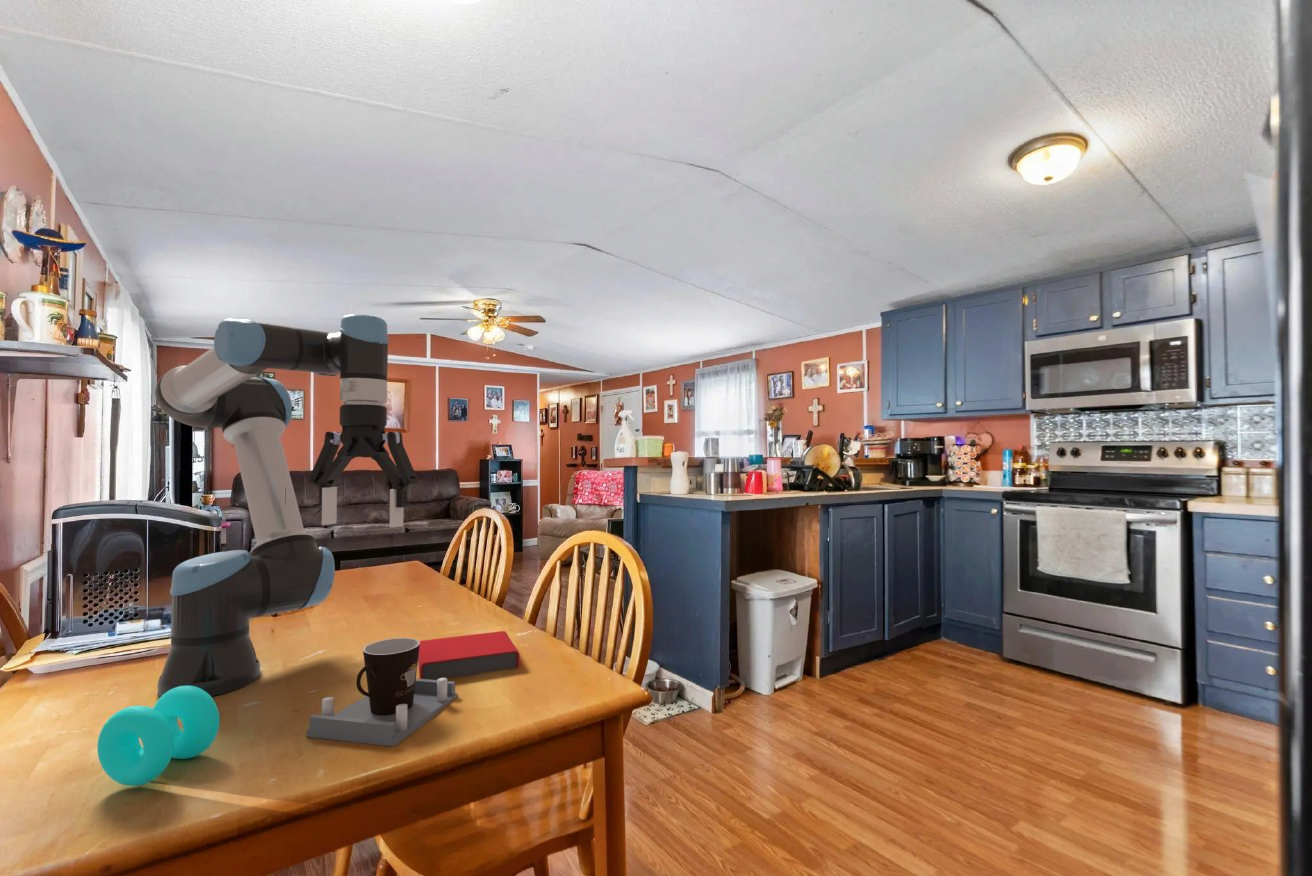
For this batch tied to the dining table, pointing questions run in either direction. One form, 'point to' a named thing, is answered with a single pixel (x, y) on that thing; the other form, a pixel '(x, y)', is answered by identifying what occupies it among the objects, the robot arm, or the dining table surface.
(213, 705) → the donuts
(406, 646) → the coffee mug
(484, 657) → the red device housing
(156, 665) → the dining table surface
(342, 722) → the pin tray
